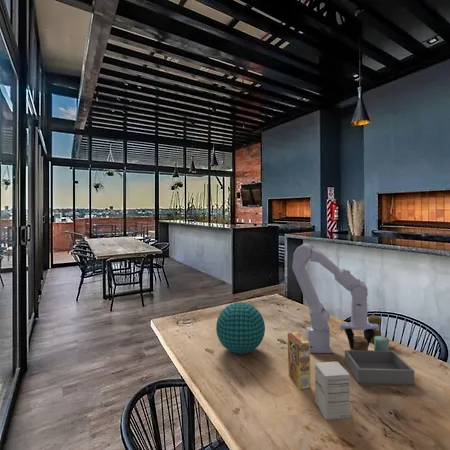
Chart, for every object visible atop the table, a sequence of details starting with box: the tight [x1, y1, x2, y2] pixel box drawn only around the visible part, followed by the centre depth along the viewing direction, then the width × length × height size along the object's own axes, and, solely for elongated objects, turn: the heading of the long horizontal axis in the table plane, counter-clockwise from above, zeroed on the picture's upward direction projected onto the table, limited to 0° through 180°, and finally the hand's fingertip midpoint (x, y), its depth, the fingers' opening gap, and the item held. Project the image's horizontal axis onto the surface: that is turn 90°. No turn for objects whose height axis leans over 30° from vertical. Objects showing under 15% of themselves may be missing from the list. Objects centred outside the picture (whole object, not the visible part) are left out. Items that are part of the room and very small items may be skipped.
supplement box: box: [314, 361, 351, 421], centre depth 84 cm, size 7×7×13 cm
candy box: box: [287, 331, 312, 390], centre depth 99 cm, size 9×4×15 cm, turn 13°
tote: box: [344, 349, 415, 387], centre depth 103 cm, size 18×14×5 cm
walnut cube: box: [349, 335, 369, 350], centre depth 115 cm, size 5×5×5 cm
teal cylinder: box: [373, 335, 390, 351], centre depth 115 cm, size 5×5×7 cm
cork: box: [367, 314, 382, 345], centre depth 128 cm, size 6×6×11 cm
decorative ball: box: [215, 301, 266, 355], centre depth 121 cm, size 20×20×20 cm
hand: (358, 347), depth 115 cm, fingers closed on walnut cube, 5 cm apart
